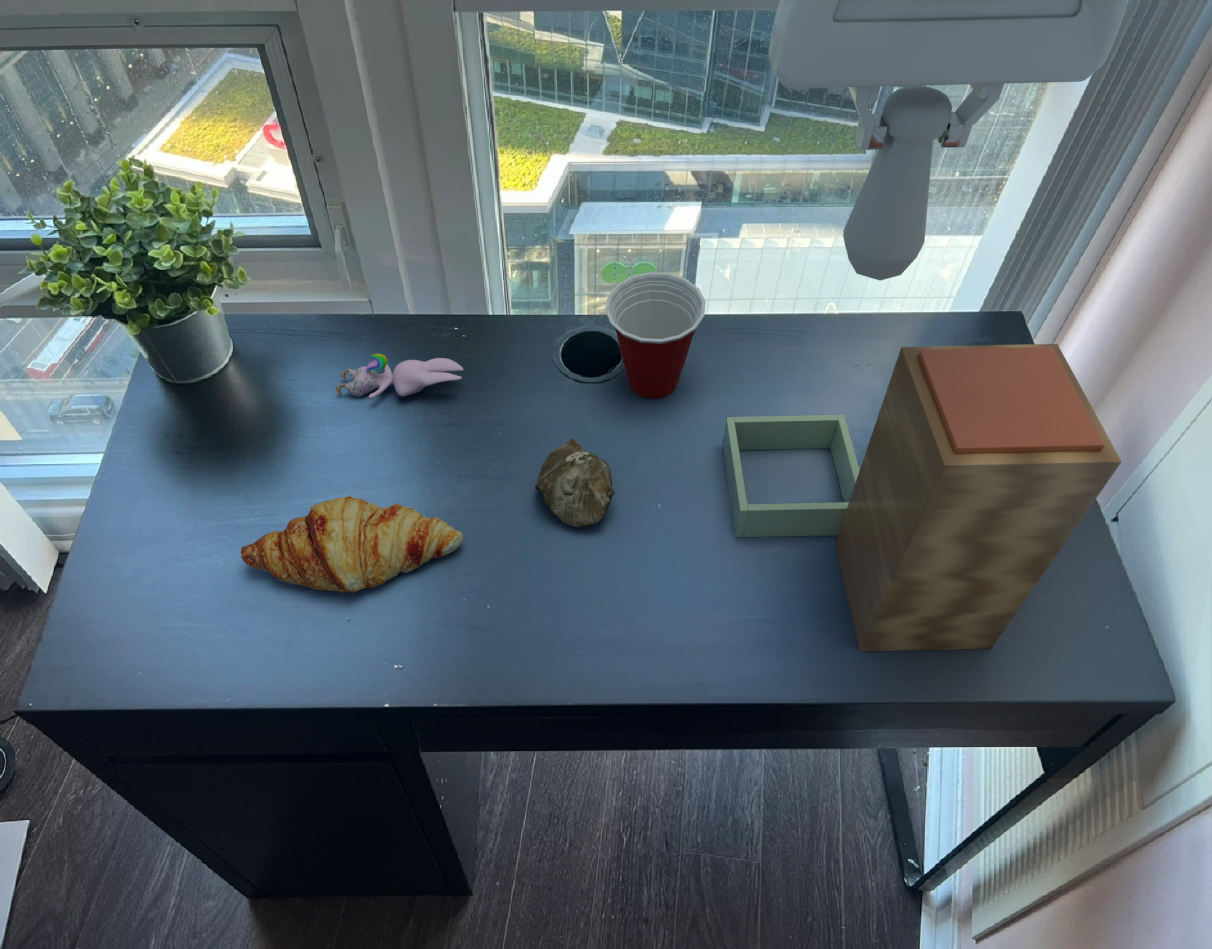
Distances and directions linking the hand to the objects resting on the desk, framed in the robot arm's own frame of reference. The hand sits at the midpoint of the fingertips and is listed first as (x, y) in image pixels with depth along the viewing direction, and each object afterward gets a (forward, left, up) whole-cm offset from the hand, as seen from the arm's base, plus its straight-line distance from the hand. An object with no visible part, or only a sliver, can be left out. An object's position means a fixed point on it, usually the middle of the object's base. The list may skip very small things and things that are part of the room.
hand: (909, 144), depth 57 cm
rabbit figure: (+48, +7, -40) cm, 63 cm away
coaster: (-12, +5, -14) cm, 19 cm away
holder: (+3, -1, -40) cm, 40 cm away
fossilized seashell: (+22, +11, -40) cm, 47 cm away
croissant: (+36, +28, -40) cm, 61 cm away
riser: (-12, +5, -40) cm, 42 cm away
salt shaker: (0, 0, -10) cm, 10 cm away
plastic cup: (+23, -8, -40) cm, 47 cm away
